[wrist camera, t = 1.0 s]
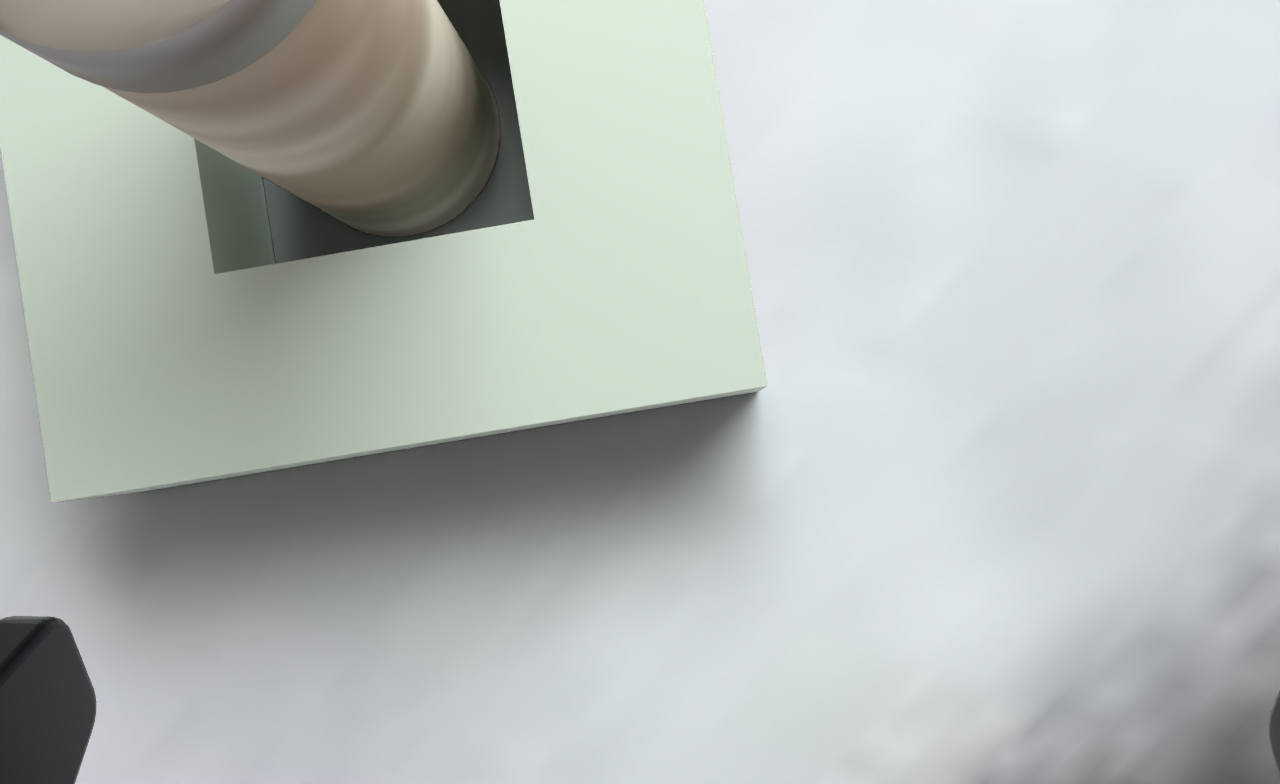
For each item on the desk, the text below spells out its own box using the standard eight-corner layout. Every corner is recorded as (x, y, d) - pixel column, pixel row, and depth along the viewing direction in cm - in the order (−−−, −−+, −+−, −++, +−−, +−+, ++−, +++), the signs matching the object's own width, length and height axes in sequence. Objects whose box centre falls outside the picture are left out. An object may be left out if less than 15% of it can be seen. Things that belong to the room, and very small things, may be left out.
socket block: (758, 391, 22) (767, 385, 19) (138, 492, 22) (50, 502, 19) (655, -231, 22) (648, -332, 19) (50, -116, 23) (-49, -198, 20)
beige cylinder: (424, 280, 22) (152, 138, 11) (250, 163, 22) (-185, -88, 11) (544, 101, 22) (388, -217, 11) (368, -15, 22) (46, -436, 11)
